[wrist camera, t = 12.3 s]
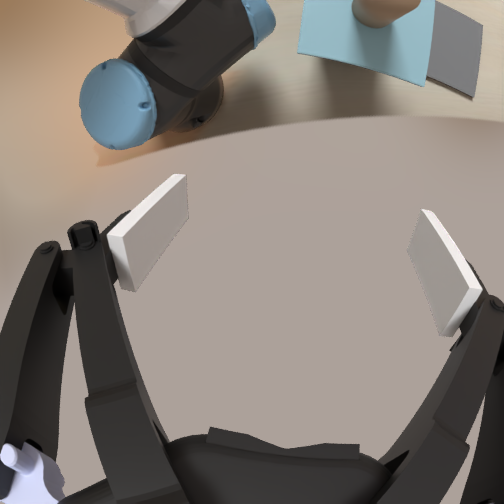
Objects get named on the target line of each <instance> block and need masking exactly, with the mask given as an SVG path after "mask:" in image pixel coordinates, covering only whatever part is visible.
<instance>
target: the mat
mask: <svg viewBox="0 0 504 504" xmlns="http://www.w3.org/2000/svg"><path fill="white" fill-rule="evenodd" d="M482 31H483V25H481V24H480V23H478V22H476V21H474V20H473V19H471V18H469V17H467V16H466V15H464V14H462V13H460V12H458V11H456V10H454V9H452V8H450V7H448V6H446V5H444V4H442V3H440V2H438V1H435V11H434V23H433V33H432V41H431V49H430V56H429V63H428V69H427V75H426V76H428V77H430V78H432V79H435V80H437V81H439V82H442V83H444V84H446V85H448V86H451V87H453V88H455V89H457V90H459V91H461V92H463V93H465V94H467V95H469V96H471V97H474V95H475V90H476V84H477V78H478V71H479V63H480V55H481V45H482Z"/></svg>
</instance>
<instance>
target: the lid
mask: <svg viewBox="0 0 504 504" xmlns="http://www.w3.org/2000/svg"><path fill="white" fill-rule="evenodd" d="M434 11H435V0H304V7H303V14H302V21H301V29H300V36H299V43H298V50H297V53H298V54H304V55H310V56H315V57H320V58H325V59H330V60H335V61H339V62H343V63H347V64H351V65H355V66H359V67H363V68H366V69H370V70H373V71H377V72H380V73H383V74H386V75H390V76H393V77H396V78H399V79H401V80H404V81H407V82H410V83H413V84H415V85H418V86H420V87H424V86H425V80H426V75H427V69H428V63H429V56H430V49H431V41H432V33H433V23H434Z"/></svg>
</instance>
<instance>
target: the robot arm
mask: <svg viewBox="0 0 504 504" xmlns="http://www.w3.org/2000/svg"><path fill="white" fill-rule="evenodd" d="M85 1H87V2H90V3H93V4H95V5H97V6H99V7H102V8H104V9H106V10H108V11H111V12H113V13H115V14H117V15H119V16H121V17H123V18H124V20H125V27H126V32H127V34H128V35H129V36H131V37H132V38H134V39H133V41H132V42H131V43H130V44H129V45H128V46H127V48H126V49H125V50H124V51H123V53H122V54H121V55H120V56H119V57H118V58H117V59H109V60H107V61H105V62H103V63H101V64H99V65H98V66H96V67H95V68H93V69H92V70H91V72H90V73H89V74H88V75H87V77H86V78H85V80H84V82H83V85H82V88H81V92H80V99H79V106H80V108H81V118H82V121H83V124H84V126H85V128H86V130H87V131H88V132H89V134H90V135H91V137H92V138H93V139H94V140H95V141H96V142H98V143H99V144H101V145H102V146H104V147H106V148H109V149H115V150H125V149H128V148H131V147H136V146H139V145H142V144H143V143H144V142H146V141H147V140H149V139H151V138H153V137H155V136H157V135H159V134H161V133H163V132H165V131H173V132H184V131H190V130H193V129H195V128H197V127H199V126H201V125H203V124H205V123H206V122H208V121H209V120H210V119H211V118H212V117H213V116H214V115H215V113H216V112H217V110H218V108H219V106H220V104H221V101H222V97H223V82H222V78H221V74H222V73H224V72H225V71H226V70H227V69H228V68H230V67H231V66H232V65H233V64H234V63H236V62H237V61H238V60H239V59H240V58H242V57H243V56H244V55H245V54H247V53H248V52H249V51H251V50H254V49H255V48H256V47H257V46H258V44H259V43H260V42H261V41H262V40H264V39H265V38H266V37H267V36H268V35H270V34H271V33H272V32H273V30H274V28H275V26H276V19H275V16H274V13H273V11H272V9H271V8H270V6H269V4H268V3H267V1H266V0H85ZM187 220H188V200H187V179H186V174H173V175H172V176H170V177H169V178H168V179H167V180H166V181H164V182H163V183H162V184H161V185H160V186H159V187H157V188H156V189H155V190H154V191H153V192H152V193H151V194H149V195H148V196H147V197H146V198H145V199H144V200H143V201H142V202H140V203H139V204H138V205H137V206H136V207H135V208H134V209H133V210H132V211H131V210H129V211H127V212H125V213H123V214H121V215H120V216H119V217H117V218H116V219H115V221H113V222H112V223H111V224H110V226H108V227H107V228H106V229H105V230H104V231H103V232H102V233H101V234H99V230H98V226H97V223H96V222H95V221H92V220H85V221H81V222H79V223H76V224H74V225H73V226H71V227H70V228H69V229H68V232H67V233H68V237H69V240H70V243H71V247H72V250H63V251H62V250H61V247H60V244H59V243H58V242H57V241H49V242H45V243H42V244H41V245H40V246H39V247H38V248H37V249H36V250H35V252H34V254H33V256H32V257H31V259H30V262H29V264H28V266H27V268H26V270H25V272H24V274H23V276H22V279H21V281H20V283H19V286H18V288H17V291H16V293H15V295H14V298H13V300H12V303H11V305H10V308H9V310H8V313H7V316H6V319H5V321H4V324H3V327H2V330H1V333H0V502H3V503H5V504H439V503H440V502H441V500H442V499H443V497H444V496H445V494H446V493H447V491H448V489H449V488H450V486H451V484H452V483H453V481H454V479H455V477H456V476H457V474H458V472H459V470H460V468H461V467H462V464H463V463H464V460H465V459H466V457H467V454H468V452H469V449H470V447H469V444H467V443H466V442H465V441H466V439H467V436H468V434H469V432H470V430H471V428H472V425H473V423H474V421H475V419H476V416H477V414H478V411H479V408H480V406H481V404H482V401H483V399H484V396H485V402H484V409H483V415H482V422H481V427H480V432H479V437H478V441H477V446H476V450H475V454H474V458H473V462H472V465H471V469H470V473H469V476H468V479H467V482H466V485H465V488H464V491H463V495H462V498H461V502H460V504H504V303H503V302H502V301H501V300H500V299H499V298H497V297H495V296H493V295H489V294H488V292H487V291H486V289H485V287H484V285H483V283H482V281H481V280H480V279H479V276H478V275H477V274H476V271H475V270H474V268H473V267H472V265H471V264H470V263H469V262H468V261H467V260H466V259H465V258H464V257H463V255H462V254H461V252H460V251H459V249H458V247H457V246H456V244H455V243H454V241H453V240H452V238H451V237H450V236H449V234H448V233H447V231H446V230H445V228H444V227H443V225H442V224H441V223H440V221H439V220H438V218H437V217H436V216H435V214H434V213H433V212H432V211H428V210H424V209H421V211H420V214H419V218H418V220H417V223H416V226H415V230H414V232H413V235H412V238H411V241H410V243H409V246H408V248H407V252H408V254H409V256H410V258H411V261H412V263H413V265H414V268H415V270H416V273H417V275H418V278H419V280H420V283H421V285H422V288H423V290H424V293H425V296H426V298H427V301H428V304H429V307H430V309H431V312H432V315H433V318H434V321H435V324H436V327H437V330H438V333H439V336H446V337H453V335H454V334H455V332H456V331H457V329H458V328H460V330H461V333H462V334H461V335H460V337H459V338H458V339H457V341H456V342H455V344H454V345H453V346H452V347H451V349H450V351H452V352H451V354H450V356H449V358H448V360H447V362H446V364H445V365H444V367H443V369H442V371H441V373H440V375H439V377H438V378H437V380H436V382H435V384H434V385H433V387H432V389H431V390H430V392H429V394H428V395H427V397H426V398H425V400H424V402H423V403H422V405H421V406H420V408H419V409H418V411H417V412H416V414H415V415H414V417H413V418H412V420H411V421H410V423H409V424H408V426H407V427H406V428H405V430H404V431H403V432H402V434H401V435H400V437H399V438H398V439H397V441H396V442H395V443H394V445H393V446H392V447H391V448H390V450H389V451H388V452H387V453H386V454H385V455H384V456H383V457H382V458H380V459H379V460H378V461H377V460H376V459H374V458H372V457H370V456H368V455H365V454H363V453H359V446H360V445H359V444H329V443H323V444H318V445H311V446H306V447H298V448H290V449H284V448H281V447H278V446H275V445H273V444H270V443H268V442H265V441H262V440H260V439H258V438H255V437H253V436H250V435H248V434H243V433H238V432H233V431H228V430H223V429H218V428H214V427H210V429H209V432H208V434H201V435H191V436H187V437H183V438H180V439H176V440H174V441H172V442H169V439H168V437H167V435H166V433H165V431H164V430H163V427H162V426H161V424H160V421H159V419H158V417H157V415H156V412H155V410H154V408H153V405H152V403H151V400H150V398H149V395H148V392H147V390H146V387H145V385H144V382H143V379H142V377H141V374H140V371H139V368H138V365H137V362H136V360H135V357H134V354H133V351H132V347H131V345H130V341H129V338H128V335H127V332H126V328H125V325H124V321H123V318H122V314H121V310H120V307H119V303H118V299H117V295H116V291H115V288H114V285H113V284H114V283H115V282H116V280H117V279H118V280H119V283H120V287H121V289H124V290H128V291H132V292H136V291H137V289H138V288H139V287H140V285H141V284H142V282H143V281H144V279H145V278H146V276H147V275H148V273H149V272H150V271H151V269H152V268H153V266H154V265H155V263H156V262H157V261H158V259H159V258H160V256H161V255H162V254H163V252H164V251H165V249H166V248H167V247H168V245H169V243H170V242H171V241H172V240H173V238H174V237H175V235H176V234H177V233H178V232H179V230H180V229H181V228H182V226H183V225H184V223H185V222H186V221H187ZM74 302H75V310H76V320H77V328H78V336H79V343H80V350H81V357H82V362H83V368H84V373H85V378H86V383H87V388H88V393H89V395H88V397H86V398H85V408H86V412H87V416H88V420H89V424H90V428H91V431H92V435H93V438H94V442H95V445H96V448H97V451H98V454H99V457H100V461H101V463H102V466H103V469H104V472H105V475H106V477H107V478H106V479H103V480H101V481H100V482H98V483H96V484H93V485H91V486H89V487H87V488H85V489H83V490H81V491H79V492H76V493H74V494H72V495H70V496H67V497H65V495H64V494H63V491H62V487H63V486H64V483H65V482H64V477H63V476H62V474H61V472H60V469H59V467H58V465H57V464H56V457H57V449H58V437H59V436H58V435H59V408H60V395H61V383H62V373H63V365H64V357H65V351H66V344H67V338H68V332H69V326H70V321H71V316H72V311H73V306H74ZM485 393H486V394H485Z"/></svg>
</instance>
